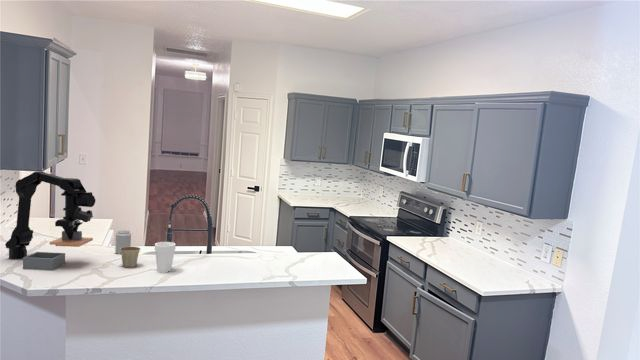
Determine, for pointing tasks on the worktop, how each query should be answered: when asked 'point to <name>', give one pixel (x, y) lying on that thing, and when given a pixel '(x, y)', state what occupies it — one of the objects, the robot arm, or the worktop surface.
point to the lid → (71, 240)
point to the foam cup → (164, 255)
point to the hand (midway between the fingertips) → (71, 238)
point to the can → (122, 240)
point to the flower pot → (129, 256)
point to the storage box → (43, 261)
